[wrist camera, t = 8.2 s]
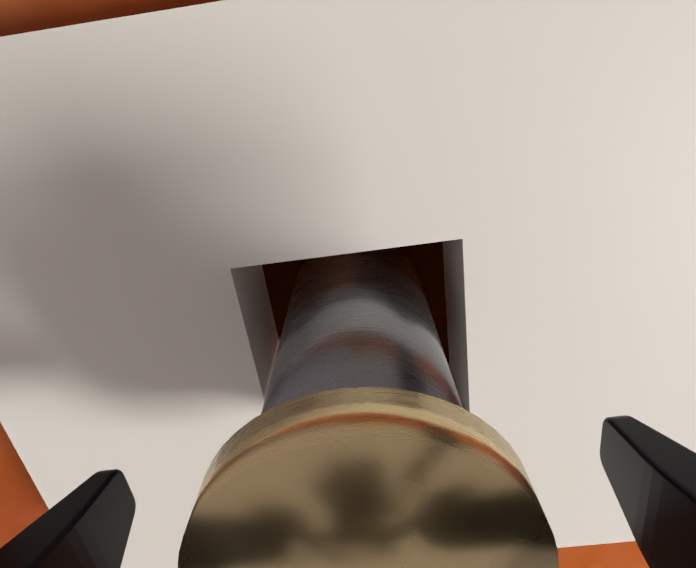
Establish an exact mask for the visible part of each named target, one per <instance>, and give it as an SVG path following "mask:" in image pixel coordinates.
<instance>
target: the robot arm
mask: <svg viewBox="0 0 696 568" xmlns="http://www.w3.org/2000/svg"><path fill="white" fill-rule="evenodd" d="M600 459H601V463H602V466H603V468H604V470H605V473H606V475H607V477H608V479H609V482H610V484H611V486H612V488H613V491H614V493H615V495H616V498H617V500H618V502H619V504H620V507H621V509H622V511H623V513H624V516H625V518H626V520H627V522H628V525H629V527H630V529H631V531H632V534H633V536H634V538H635V540H636V542H637V544H638V547H639V549H640V551H641V552H642V554H643V556H644V558H645V560H646V562H647V564H648V565H649V567H650V568H696V453H695V452H693V451H692V450H690V449H688V448H686V447H685V446H683V445H681V444H679V443H678V442H676V441H674V440H672V439H670V438H669V437H667V436H665V435H663V434H662V433H660V432H658V431H656V430H655V429H653V428H651V427H649V426H648V425H646V424H644V423H642V422H640V421H639V420H637V419H635V418H633V417H631V416H628V415H623V416H613V417H607V418H605V419H604V421H603V424H602V433H601V443H600ZM135 509H136V503H135V498H134V496H133V494H132V491H131V489H130V487H129V485H128V482H127V480H126V478H125V476H124V474H123V472H122V471H121V470H119V469H112V470H102V471H98V472H96V473H95V474H93V475H92V476H91V477H89V478H88V479H87V480H86V481H84V482H83V483H82V484H81V485H79V486H78V487H77V488H76V489H74V490H73V491H72V492H71V493H69V494H68V495H67V496H66V497H64V498H63V499H62V500H61V501H59V502H58V503H57V504H56V505H54V506H53V507H52V508H51V509H49V510H48V511H47V512H46V513H44V514H43V515H42V516H41V517H39V518H38V519H37V520H36V521H34V522H33V523H32V524H31V525H29V526H28V527H27V528H26V529H24V530H23V531H22V532H20V533H19V534H18V535H17V536H15V537H14V538H13V539H12V540H10V541H9V542H8V543H7V544H5V545H4V546H3V547H2V548H0V568H121V564H122V560H123V556H124V553H125V549H126V545H127V541H128V537H129V534H130V530H131V526H132V522H133V519H134V515H135Z"/></svg>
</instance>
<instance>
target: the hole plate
mask: <svg viewBox="0 0 696 568" xmlns="http://www.w3.org/2000/svg"><path fill="white" fill-rule="evenodd" d="M434 242H442V249H443V265H444V282H445V299H446V315H447V332H448V349H449V363H448V366H449V369H450V372H451V375H452V378H453V381H454V384H455V387H456V390H457V393H458V396H459V399H460V402H461V405H462V408H463V409H465V410H467V411H469V412H470V413H472V414H474V415H476V416H477V417H479V418H481V419H482V420H483V421H485V422H486V423H487V424H489V425H490V426H491V427H493V428H494V429H495V430H496V431H497V432H498V433H499V434H500V435H501V436H502V437H503V438H504V439H505V440H506V441H507V442H508V443H509V444H510V445H511V447H512V448H513V449H514V451H515V452H516V454H517V455H518V457H519V458H520V460H521V462H522V464H523V466H524V468H525V470H526V473H527V475H528V477H529V479H530V482H531V484H532V486H533V488H534V491H535V493H536V495H537V498H538V500H539V502H540V504H541V507H542V509H543V511H544V514H545V516H546V518H547V520H548V523H549V525H550V527H551V530H552V532H553V534H554V538H555V542H556V546H557V548H561V547H572V546H583V545H595V544H606V543H617V542H628V541H636V540H635V538H634V536H633V534H632V531H631V529H630V527H629V525H628V522H627V520H626V518H625V516H624V513H623V511H622V509H621V507H620V504H619V502H618V500H617V498H616V495H615V493H614V491H613V488H612V486H611V484H610V482H609V479H608V477H607V475H606V473H605V470H604V468H603V466H602V463H601V459H600V443H601V433H602V424H603V421H604V419H605V418H607V417H613V416H623V415H628V416H631V417H633V418H635V419H637V420H639V421H640V422H642V423H644V424H646V425H648V426H649V427H651V428H653V429H655V430H656V431H658V432H660V433H662V434H663V435H665V436H667V437H669V438H670V439H672V440H674V441H676V442H678V443H679V444H681V445H683V446H685V447H686V448H688V449H690V450H692V451H693V452H695V453H696V0H223V1H216V2H210V3H204V4H198V5H192V6H186V7H180V8H174V9H167V10H161V11H155V12H149V13H143V14H137V15H131V16H125V17H118V18H112V19H106V20H100V21H94V22H88V23H82V24H76V25H69V26H63V27H57V28H51V29H45V30H39V31H33V32H27V33H20V34H14V35H8V36H2V37H0V422H1V424H2V426H3V428H4V429H5V431H6V433H7V435H8V437H9V438H10V440H11V442H12V444H13V446H14V447H15V449H16V451H17V453H18V455H19V456H20V458H21V460H22V462H23V464H24V465H25V467H26V469H27V471H28V473H29V474H30V476H31V478H32V480H33V482H34V483H35V485H36V487H37V489H38V491H39V492H40V494H41V496H42V498H43V500H44V501H45V503H46V505H47V507H48V508H49V509H51V508H52V507H53V506H54V505H56V504H57V503H58V502H59V501H61V500H62V499H63V498H64V497H66V496H67V495H68V494H69V493H71V492H72V491H73V490H74V489H76V488H77V487H78V486H79V485H81V484H82V483H83V482H84V481H86V480H87V479H88V478H89V477H91V476H92V475H93V474H95V473H96V472H98V471H102V470H112V469H119V470H121V471H122V472H123V474H124V476H125V478H126V480H127V482H128V485H129V487H130V489H131V491H132V494H133V496H134V498H135V503H136V509H135V515H134V519H133V522H132V526H131V530H130V534H129V537H128V541H127V545H126V549H125V553H124V556H123V560H122V564H121V568H178V555H179V550H180V546H181V542H182V539H183V535H184V532H185V530H186V527H187V524H188V521H189V518H190V515H191V513H192V510H193V507H194V504H195V501H196V499H197V496H198V493H199V490H200V487H201V484H202V482H203V479H204V476H205V474H206V472H207V470H208V468H209V466H210V464H211V461H212V460H213V458H214V457H215V455H216V454H217V453H218V451H219V450H220V448H221V447H222V446H223V445H224V444H225V443H226V442H227V441H228V440H229V438H230V437H231V436H232V435H233V434H234V433H235V432H236V431H238V430H239V429H240V428H242V427H243V426H244V425H246V424H247V423H248V422H250V421H251V420H252V419H254V418H255V417H257V416H259V415H261V412H262V408H263V404H264V400H265V396H266V392H267V389H268V385H269V381H270V377H271V373H272V369H273V365H274V361H275V357H276V353H277V349H278V345H279V337H278V333H277V329H276V324H275V320H274V316H273V311H272V307H271V303H270V298H269V294H268V289H267V285H266V281H265V276H264V272H263V268H262V265H263V264H270V263H278V262H286V261H294V260H301V259H309V258H317V257H325V256H333V255H340V254H348V253H356V252H364V251H372V250H379V249H387V248H395V247H403V246H410V245H418V244H426V243H434Z"/></svg>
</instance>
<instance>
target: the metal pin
mask: <svg viewBox="0 0 696 568" xmlns="http://www.w3.org/2000/svg"><path fill="white" fill-rule="evenodd" d="M178 568H559V567H558V550H557V546H556V542H555V538H554V534H553V532H552V530H551V527H550V525H549V523H548V520H547V518H546V516H545V514H544V511H543V509H542V507H541V504H540V502H539V500H538V498H537V495H536V493H535V491H534V488H533V486H532V484H531V482H530V479H529V477H528V475H527V473H526V470H525V468H524V466H523V464H522V462H521V460H520V458H519V457H518V455H517V454H516V452H515V451H514V449H513V448H512V447H511V445H510V444H509V443H508V442H507V441H506V440H505V439H504V438H503V437H502V436H501V435H500V434H499V433H498V432H497V431H496V430H495V429H494V428H493V427H491V426H490V425H489V424H487V423H486V422H485V421H483V420H482V419H481V418H479V417H477V416H476V415H474V414H472V413H470V412H469V411H467V410H465V409H463V408H462V405H461V402H460V399H459V396H458V393H457V390H456V387H455V384H454V381H453V378H452V375H451V372H450V369H449V366H448V363H447V360H446V357H445V354H444V351H443V348H442V345H441V342H440V339H439V336H438V333H437V330H436V327H435V324H434V321H433V318H432V315H431V312H430V309H429V306H428V303H427V299H426V296H425V293H424V290H423V287H422V284H421V281H420V278H419V275H418V273H417V271H416V269H415V267H414V266H413V264H412V263H411V261H410V260H409V259H408V258H407V257H406V256H405V255H404V254H403V253H402V252H401V251H399V250H398V249H397V248H387V249H379V250H372V251H364V252H356V253H348V254H340V255H333V256H325V257H317V258H309V259H307V260H306V261H305V262H304V264H303V265H302V267H301V268H300V270H299V272H298V274H297V276H296V280H295V283H294V287H293V291H292V295H291V298H290V302H289V306H288V310H287V314H286V318H285V322H284V326H283V330H282V334H281V338H280V342H279V345H278V349H277V353H276V357H275V361H274V365H273V369H272V373H271V377H270V381H269V385H268V389H267V392H266V396H265V400H264V404H263V408H262V412H261V415H259V416H257V417H255V418H254V419H252V420H251V421H250V422H248V423H247V424H246V425H244V426H243V427H242V428H240V429H239V430H238V431H236V432H235V433H234V434H233V435H232V436H231V437H230V438H229V440H228V441H227V442H226V443H225V444H224V445H223V446H222V447H221V448H220V450H219V451H218V453H217V454H216V455H215V457H214V458H213V460H212V461H211V464H210V466H209V468H208V470H207V472H206V474H205V476H204V479H203V482H202V484H201V487H200V490H199V493H198V496H197V499H196V501H195V504H194V507H193V510H192V513H191V515H190V518H189V521H188V524H187V527H186V530H185V532H184V535H183V539H182V542H181V546H180V550H179V555H178Z"/></svg>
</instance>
